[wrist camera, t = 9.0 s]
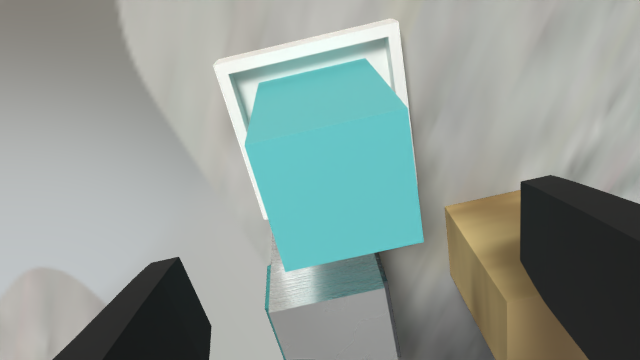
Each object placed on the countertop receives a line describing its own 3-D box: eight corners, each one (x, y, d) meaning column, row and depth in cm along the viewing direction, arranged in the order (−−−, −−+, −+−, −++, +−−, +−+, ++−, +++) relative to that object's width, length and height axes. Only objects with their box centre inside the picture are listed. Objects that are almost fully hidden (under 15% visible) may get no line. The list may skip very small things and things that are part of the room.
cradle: (391, 18, 15) (398, 21, 14) (411, 174, 18) (418, 185, 17) (217, 59, 15) (213, 65, 14) (265, 207, 18) (264, 220, 17)
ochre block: (533, 186, 19) (631, 276, 13) (531, 256, 21) (617, 359, 15) (444, 206, 19) (506, 302, 13) (450, 274, 21) (507, 382, 15)
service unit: (365, 209, 18) (390, 286, 14) (381, 293, 21) (407, 382, 16) (266, 231, 19) (259, 314, 14) (293, 312, 21) (295, 405, 17)
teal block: (365, 58, 15) (407, 107, 10) (380, 155, 17) (423, 242, 12) (258, 83, 15) (244, 145, 10) (285, 177, 17) (285, 272, 12)
